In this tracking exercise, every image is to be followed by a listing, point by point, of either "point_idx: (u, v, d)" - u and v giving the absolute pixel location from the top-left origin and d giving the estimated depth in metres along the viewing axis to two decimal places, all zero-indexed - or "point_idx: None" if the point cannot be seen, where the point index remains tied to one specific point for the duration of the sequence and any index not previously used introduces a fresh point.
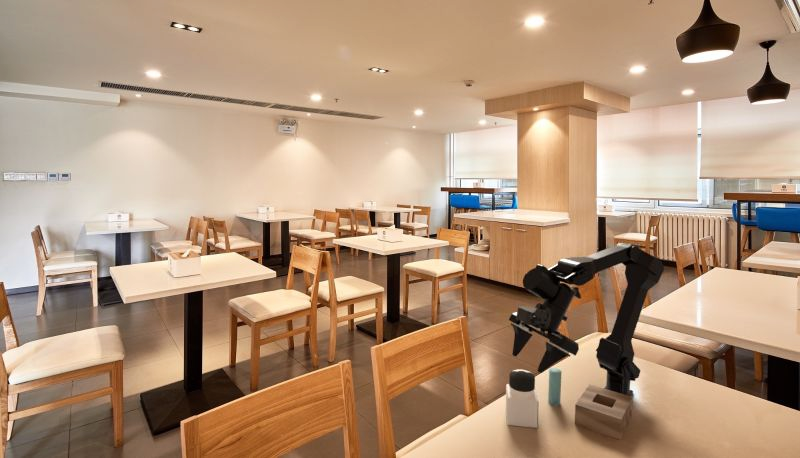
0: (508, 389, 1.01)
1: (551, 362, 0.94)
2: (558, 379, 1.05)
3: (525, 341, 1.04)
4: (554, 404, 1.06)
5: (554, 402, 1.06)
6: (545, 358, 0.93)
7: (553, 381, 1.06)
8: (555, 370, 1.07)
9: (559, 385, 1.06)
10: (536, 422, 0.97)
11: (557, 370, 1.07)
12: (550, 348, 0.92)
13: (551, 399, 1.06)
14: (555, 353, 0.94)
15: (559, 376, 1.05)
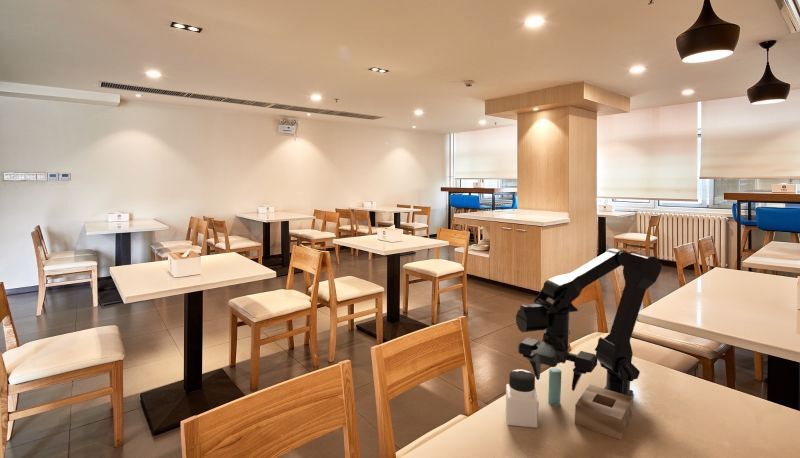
0: (508, 389, 1.01)
1: (579, 377, 1.04)
2: (558, 379, 1.05)
3: None
4: (554, 404, 1.06)
5: (554, 402, 1.06)
6: (576, 380, 1.02)
7: (553, 381, 1.06)
8: (555, 370, 1.07)
9: (559, 385, 1.06)
10: (536, 422, 0.97)
11: (557, 370, 1.07)
12: (579, 373, 1.00)
13: (551, 399, 1.06)
14: None
15: (559, 376, 1.05)
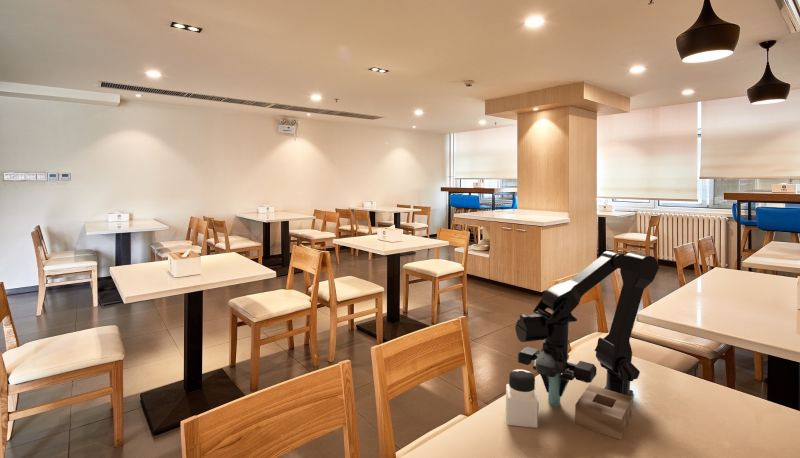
0: (508, 389, 1.01)
1: (567, 383, 1.06)
2: (558, 379, 1.05)
3: None
4: (553, 404, 1.06)
5: (554, 402, 1.06)
6: (563, 386, 1.04)
7: (553, 381, 1.05)
8: None
9: (559, 385, 1.06)
10: (536, 422, 0.97)
11: None
12: (566, 379, 1.02)
13: (551, 399, 1.06)
14: None
15: (559, 376, 1.05)
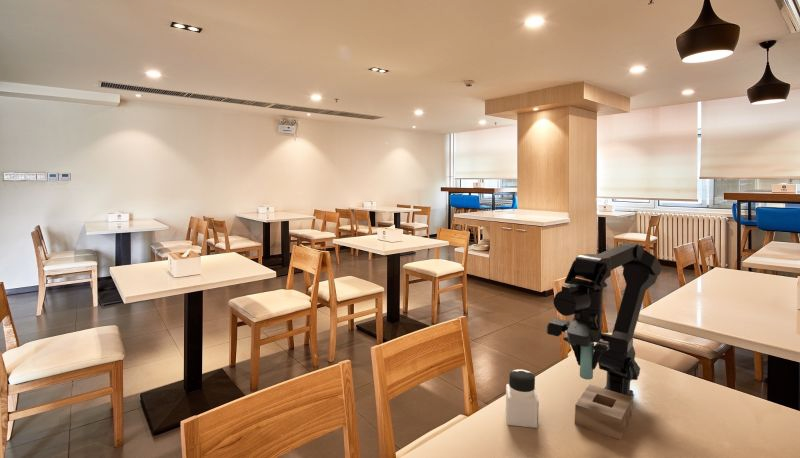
0: (508, 389, 1.01)
1: (600, 355, 1.00)
2: (590, 351, 0.99)
3: (581, 345, 1.03)
4: (586, 377, 1.00)
5: (586, 375, 1.00)
6: (597, 358, 0.98)
7: (585, 352, 0.99)
8: None
9: (592, 357, 0.99)
10: (536, 422, 0.97)
11: None
12: (600, 350, 0.96)
13: (583, 372, 1.00)
14: None
15: (592, 347, 0.99)
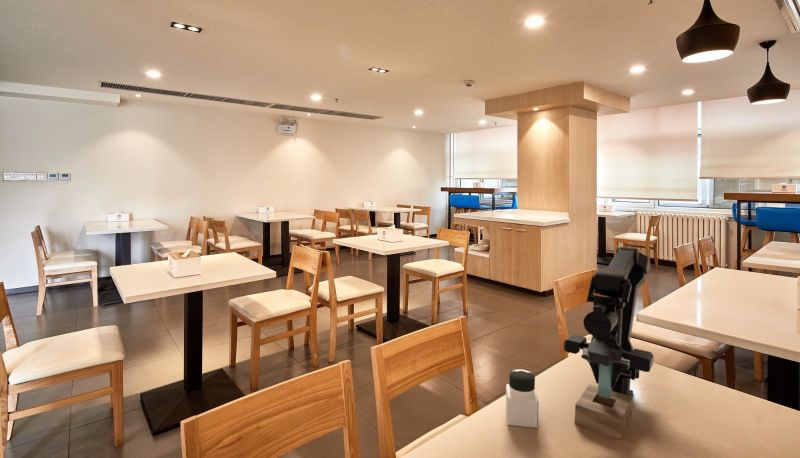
0: (508, 389, 1.01)
1: (619, 373, 0.97)
2: (610, 369, 0.97)
3: (599, 362, 1.01)
4: (605, 395, 0.98)
5: (605, 394, 0.98)
6: (616, 376, 0.96)
7: (605, 370, 0.97)
8: None
9: (611, 375, 0.97)
10: (536, 422, 0.97)
11: None
12: (620, 369, 0.94)
13: (602, 391, 0.98)
14: None
15: (611, 365, 0.97)
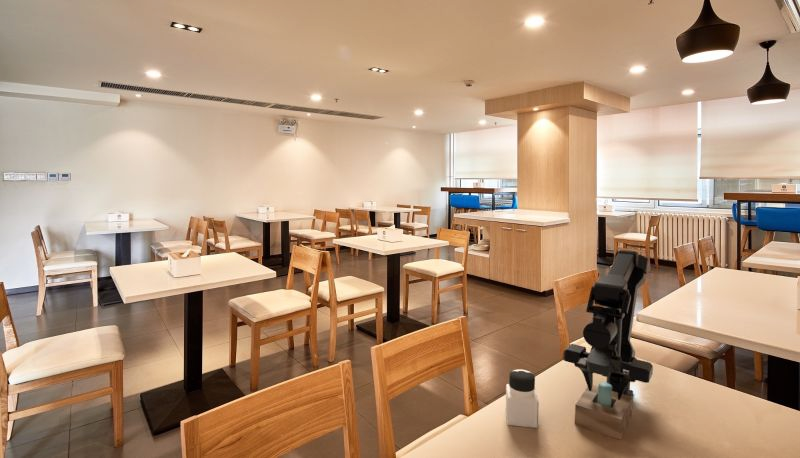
0: (508, 389, 1.01)
1: None
2: (608, 394, 0.97)
3: None
4: None
5: None
6: (623, 388, 0.95)
7: (603, 396, 0.98)
8: (605, 384, 0.99)
9: (610, 401, 0.98)
10: (536, 422, 0.97)
11: (607, 385, 0.99)
12: (627, 381, 0.93)
13: None
14: None
15: (610, 391, 0.97)
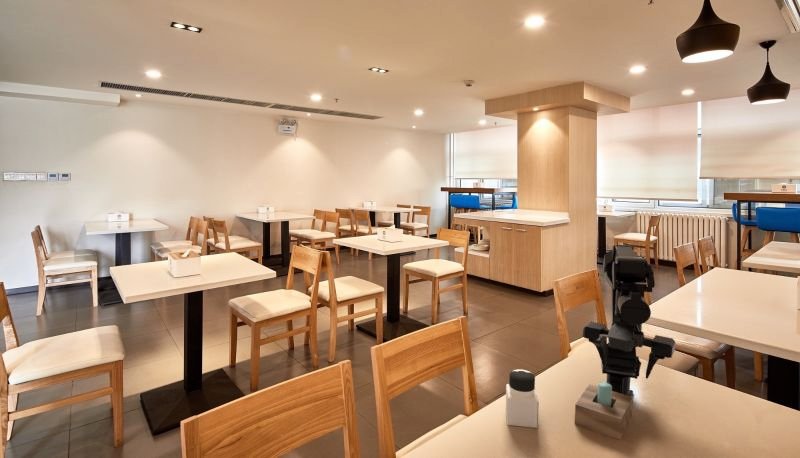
0: (508, 389, 1.01)
1: None
2: (608, 394, 0.97)
3: (606, 346, 1.02)
4: None
5: None
6: (651, 366, 0.93)
7: (603, 396, 0.98)
8: (605, 384, 0.99)
9: (609, 401, 0.98)
10: (536, 422, 0.97)
11: (607, 384, 0.99)
12: (656, 359, 0.91)
13: None
14: None
15: (610, 391, 0.98)
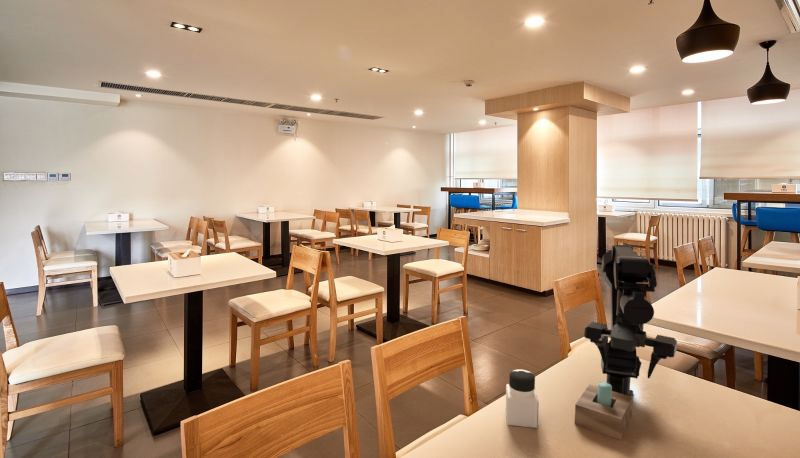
0: (508, 389, 1.01)
1: None
2: (608, 394, 0.97)
3: (607, 346, 1.02)
4: None
5: None
6: (653, 366, 0.93)
7: (603, 396, 0.98)
8: (605, 384, 0.99)
9: (609, 401, 0.98)
10: (536, 422, 0.97)
11: (607, 384, 0.99)
12: (658, 358, 0.91)
13: None
14: None
15: (610, 391, 0.98)
